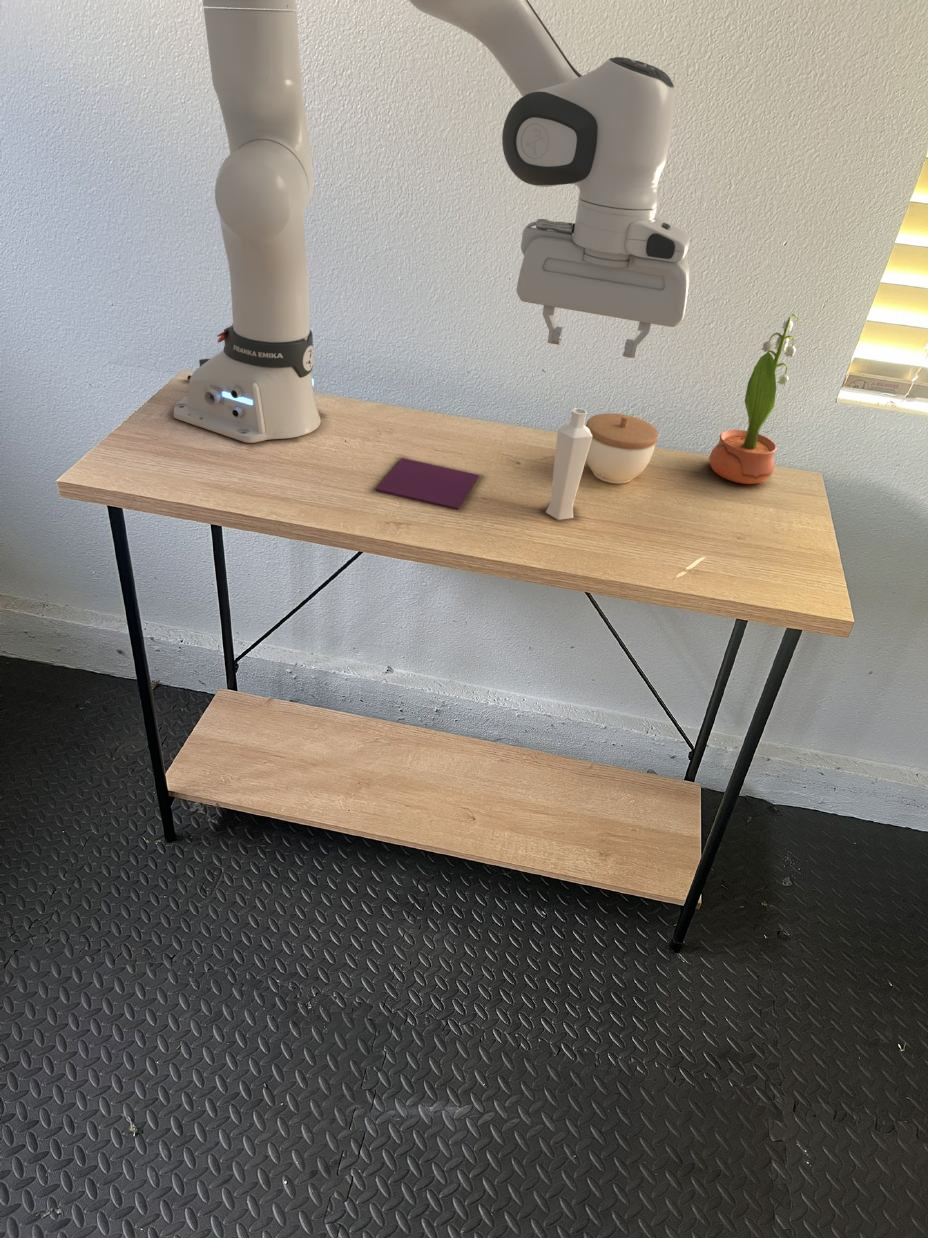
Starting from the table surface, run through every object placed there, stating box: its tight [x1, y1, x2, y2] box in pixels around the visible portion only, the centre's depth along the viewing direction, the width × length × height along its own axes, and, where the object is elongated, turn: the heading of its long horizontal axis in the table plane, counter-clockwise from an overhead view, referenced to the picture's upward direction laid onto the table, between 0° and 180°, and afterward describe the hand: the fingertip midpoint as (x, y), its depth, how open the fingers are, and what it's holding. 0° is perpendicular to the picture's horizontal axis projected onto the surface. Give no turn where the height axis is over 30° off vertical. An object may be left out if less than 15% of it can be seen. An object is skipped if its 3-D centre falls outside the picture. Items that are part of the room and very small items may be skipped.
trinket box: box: [585, 413, 659, 485], centre depth 128 cm, size 11×11×9 cm
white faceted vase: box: [545, 407, 592, 521], centre depth 114 cm, size 5×4×15 cm
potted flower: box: [708, 313, 800, 485], centre depth 129 cm, size 12×10×25 cm
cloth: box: [375, 457, 480, 510], centre depth 122 cm, size 12×11×1 cm
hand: (591, 349), depth 105 cm, fingers open, 8 cm apart
